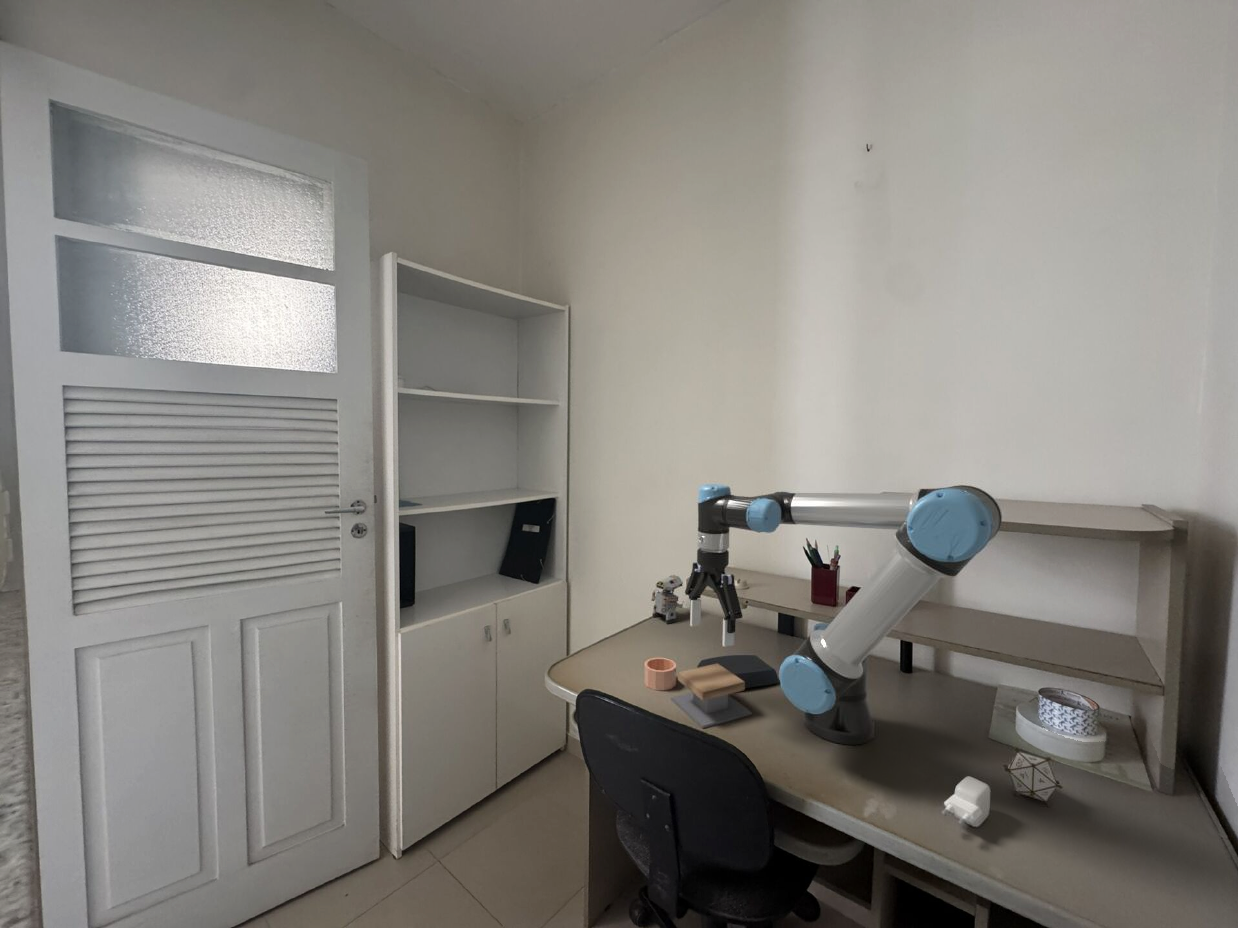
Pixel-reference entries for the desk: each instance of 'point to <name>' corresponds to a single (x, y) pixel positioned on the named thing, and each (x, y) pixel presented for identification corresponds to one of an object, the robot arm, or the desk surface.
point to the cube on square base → (710, 709)
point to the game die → (1032, 776)
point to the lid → (711, 681)
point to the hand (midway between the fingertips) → (711, 634)
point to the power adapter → (969, 802)
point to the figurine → (667, 598)
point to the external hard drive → (745, 668)
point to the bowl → (660, 674)
